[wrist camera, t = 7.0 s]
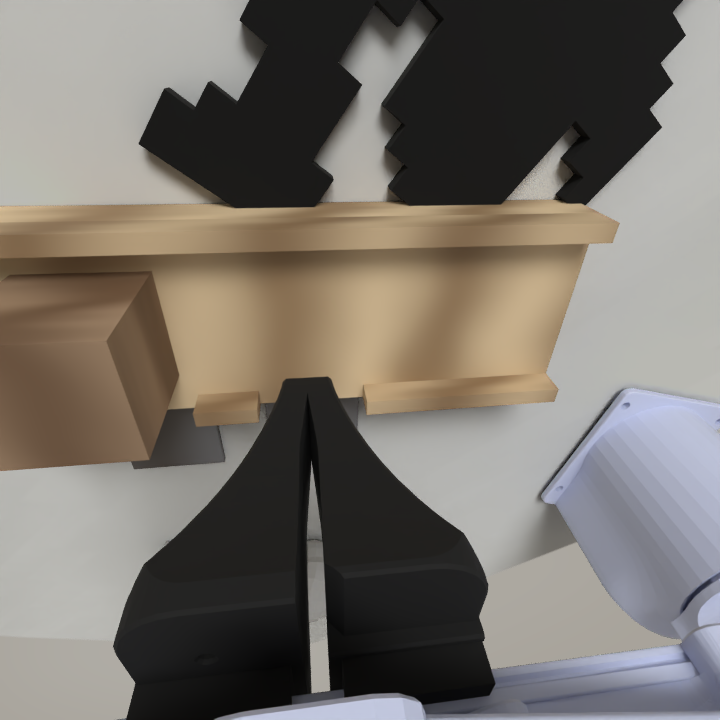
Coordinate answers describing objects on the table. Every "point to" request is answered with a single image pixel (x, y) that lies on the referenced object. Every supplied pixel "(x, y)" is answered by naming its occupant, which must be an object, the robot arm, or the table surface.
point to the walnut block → (82, 369)
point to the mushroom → (315, 580)
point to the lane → (330, 299)
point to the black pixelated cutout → (432, 99)
